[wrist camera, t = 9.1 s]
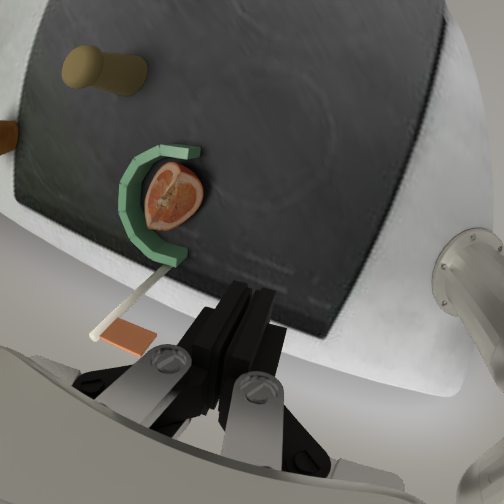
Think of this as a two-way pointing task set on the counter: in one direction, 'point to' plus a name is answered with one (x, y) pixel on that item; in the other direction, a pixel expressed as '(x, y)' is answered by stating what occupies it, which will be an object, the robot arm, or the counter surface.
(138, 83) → the cork
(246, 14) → the counter surface
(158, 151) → the green segmented arc
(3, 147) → the disposable coffee cup
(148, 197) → the fruit slice
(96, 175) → the counter surface
